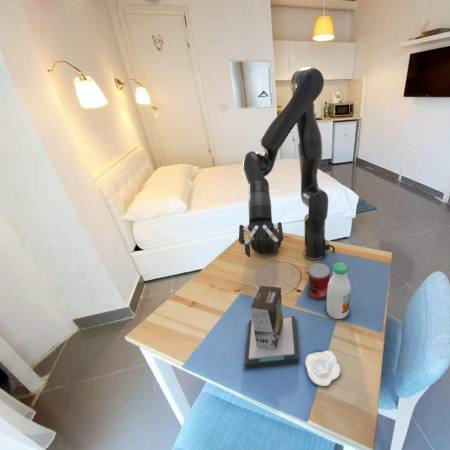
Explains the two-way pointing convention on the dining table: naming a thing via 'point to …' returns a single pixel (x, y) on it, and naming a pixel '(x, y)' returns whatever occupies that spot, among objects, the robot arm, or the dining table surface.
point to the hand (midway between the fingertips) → (262, 255)
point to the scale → (269, 357)
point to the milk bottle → (338, 292)
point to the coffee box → (267, 317)
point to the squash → (265, 243)
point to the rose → (322, 367)
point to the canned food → (318, 280)
